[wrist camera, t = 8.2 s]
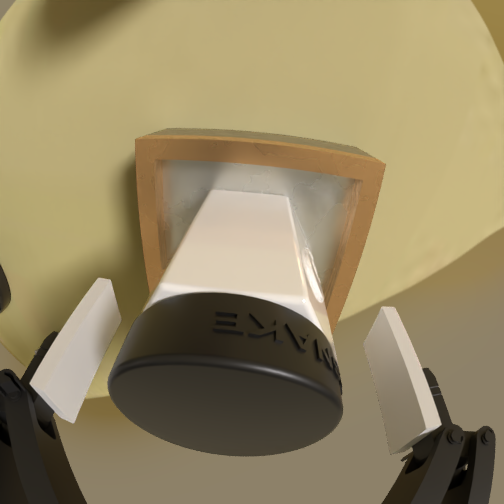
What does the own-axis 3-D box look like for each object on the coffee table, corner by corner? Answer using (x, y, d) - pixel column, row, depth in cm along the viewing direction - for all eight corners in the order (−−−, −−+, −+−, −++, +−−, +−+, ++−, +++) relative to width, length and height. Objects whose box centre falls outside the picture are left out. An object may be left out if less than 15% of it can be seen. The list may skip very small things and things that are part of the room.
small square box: (173, 288, 26) (156, 329, 21) (167, 128, 18) (135, 139, 13) (318, 303, 26) (326, 346, 21) (356, 147, 18) (385, 164, 13)
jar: (324, 277, 19) (361, 441, 9) (223, 311, 21) (198, 460, 11) (275, 160, 15) (296, 306, 5) (159, 215, 17) (55, 363, 7)
